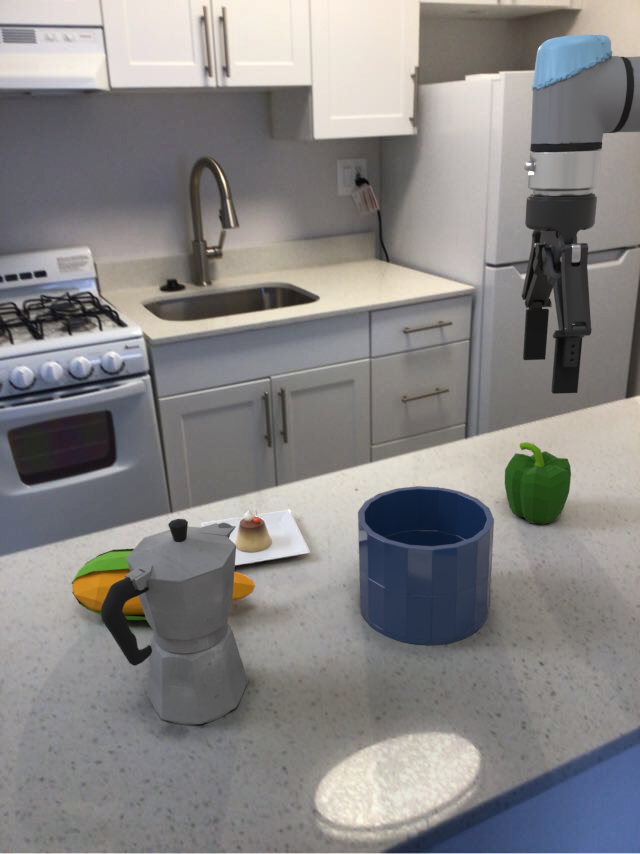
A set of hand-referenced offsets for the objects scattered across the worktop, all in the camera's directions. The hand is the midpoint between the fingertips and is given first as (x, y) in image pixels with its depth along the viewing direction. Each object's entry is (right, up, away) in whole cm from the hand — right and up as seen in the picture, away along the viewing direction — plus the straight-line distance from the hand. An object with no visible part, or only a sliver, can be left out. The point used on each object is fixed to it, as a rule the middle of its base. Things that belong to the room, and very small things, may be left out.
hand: (548, 374), depth 92 cm
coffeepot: (-40, -32, -22) cm, 55 cm away
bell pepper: (+1, -18, +9) cm, 20 cm away
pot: (-16, -26, -10) cm, 32 cm away
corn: (-44, -27, -9) cm, 52 cm away
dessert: (-36, -21, +4) cm, 42 cm away
